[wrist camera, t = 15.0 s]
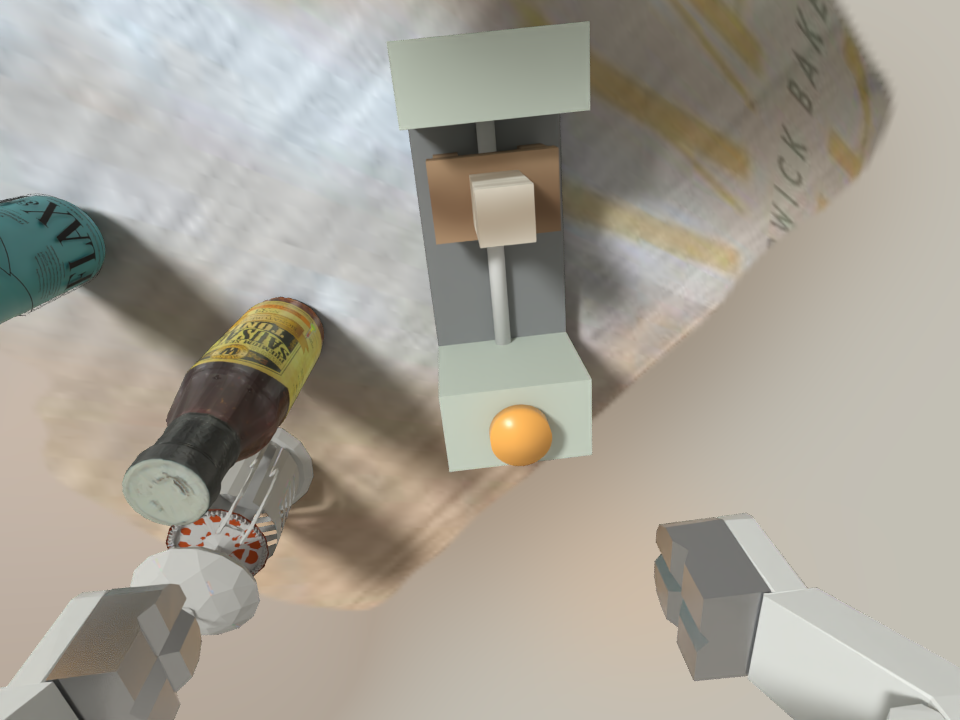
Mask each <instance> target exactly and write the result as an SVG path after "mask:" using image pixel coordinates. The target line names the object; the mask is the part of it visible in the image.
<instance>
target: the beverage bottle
mask: <svg viewBox="0 0 960 720" xmlns="http://www.w3.org/2000/svg"><path fill="white" fill-rule="evenodd" d="M42 195H44V194H42ZM48 196H49V195H47V196H40V195H39V196H37V195H35V196H24V195H22V196H20V197H18V198H16V197H15V198H13V199H11V198H10V199H9V200H8V199H5V201H4V200H1V202H0V324H1V323H3V322H5V321H7V320H9V319H11V318H13V317H16V316H25V315H21V314H23V313H29V312H27V311H29V310H31V309H32V310H36V309H33V308H35V307H37V306H39V305H41V304H43V303H46V302H47V301H49V300H52V299H53V298H56V296H58V295H60V294H62V293H64V294H65V293H67V292H68V290H70V289H73V288H74V287H76V286H78V285H80V284H82V283H84V282H86V281H88V280H89V279H91V278H93V276H95V275H96V273H97V272H98V271H99V269H100V268H101V267H102V264H103V261H104V258H105V244H104V240H103V237H102V235H101V233H100V231H99V229H98V227H97V226H96V224H95V223H94V222H93V220H92V219H91V218H90V217H89V216H88V215H87V214H86V213H85V212H83V211H82V210H81V209H79V208H78V207H76V206H75V205H73V204H71V203H69V202H67V201H64V200H62V199H58V198H56V197H52V196H51V197H48ZM24 197H26V198H24ZM20 198H22V199H20ZM16 199H18V200H16ZM12 200H13V201H12ZM8 201H9V202H8ZM4 202H5V203H4ZM100 270H101V269H100ZM99 272H100V271H99ZM97 275H98V274H97ZM90 282H91V281H90ZM86 284H87V283H86ZM84 285H85V284H84ZM82 286H83V285H82ZM80 287H81V286H80ZM78 288H79V287H78ZM75 290H76V289H75ZM71 291H72V290H71ZM73 291H74V289H73ZM68 293H69V292H68ZM64 294H62V295H63V296H64ZM62 295H61V296H62ZM65 295H66V294H65ZM61 296H60V297H61ZM60 297H59V298H60ZM56 299H57V298H56ZM56 299H55V300H56ZM52 302H53V301H52ZM47 304H49V303H47ZM45 305H46V304H45ZM43 306H44V305H43ZM43 306H42V305H41V307H43ZM41 307H39V308H41ZM37 309H38V308H37ZM32 310H31V311H32Z"/></svg>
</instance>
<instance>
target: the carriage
mask: <svg viewBox="0 0 960 720" xmlns="http://www.w3.org/2000/svg"><path fill="white" fill-rule="evenodd" d="M426 169H427V176H428V184H429V192H430V199H431V207H432V215H433V222H434V230H435V238H436V245H437V244H446V243H455V242H464V241H473V240H478V241H479V245H480V248H487V247H496V246H505V245H514V244H523V243H532V242H536V233H545V232H554V231H561V215H560V181H559V148H558V147H556V146H554V145H552V146H546V145H544V144H541V143H537V144H528V145H519V146H517V149H515V150H506V151H496V152H487V153H478V154H468V155H459V156H458V154H457V152H453V153H444V154H435V155H433V158H431V159H426Z"/></svg>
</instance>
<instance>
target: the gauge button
mask: <svg viewBox="0 0 960 720" xmlns="http://www.w3.org/2000/svg"><path fill="white" fill-rule="evenodd" d="M489 436H490V442H491V448H492V451H493V453H494V454H495V456H496V457H497V458H498V459H499V460H501V461H502V462H504V463H506V464H509V465H513V466H525V465H529V464H532V463H535V462H537V461H538V460H540V459H541V458H542V457H544V456H545V455H546V453H547V452H548V451H549V449H550V447H551V444H552V433H551V429H550V426H549V423H548V420H547V418H546V417H545V415H544V414H543V413H542V412H541V411H540V410H539V409H537V408H535V407H533V406H530V405H523V404H520V405H513V406H509V407H507V408H505V409H503V410H501V411H500V412H499V413H498V414H497V415H496V416H495V417H494V418H493V420H492V422H491V424H490V428H489Z"/></svg>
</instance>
